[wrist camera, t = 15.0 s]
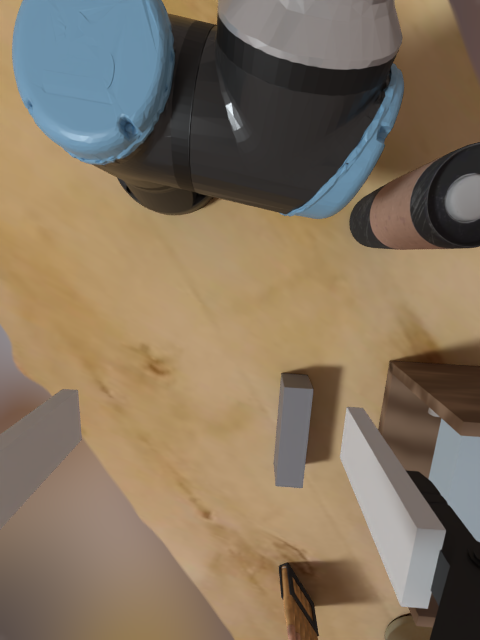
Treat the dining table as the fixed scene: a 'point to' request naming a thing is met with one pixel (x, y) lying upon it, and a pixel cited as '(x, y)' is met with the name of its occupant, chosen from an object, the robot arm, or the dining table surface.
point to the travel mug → (425, 206)
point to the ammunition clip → (297, 606)
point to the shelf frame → (427, 421)
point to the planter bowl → (407, 630)
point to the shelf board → (458, 475)
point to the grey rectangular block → (292, 430)
